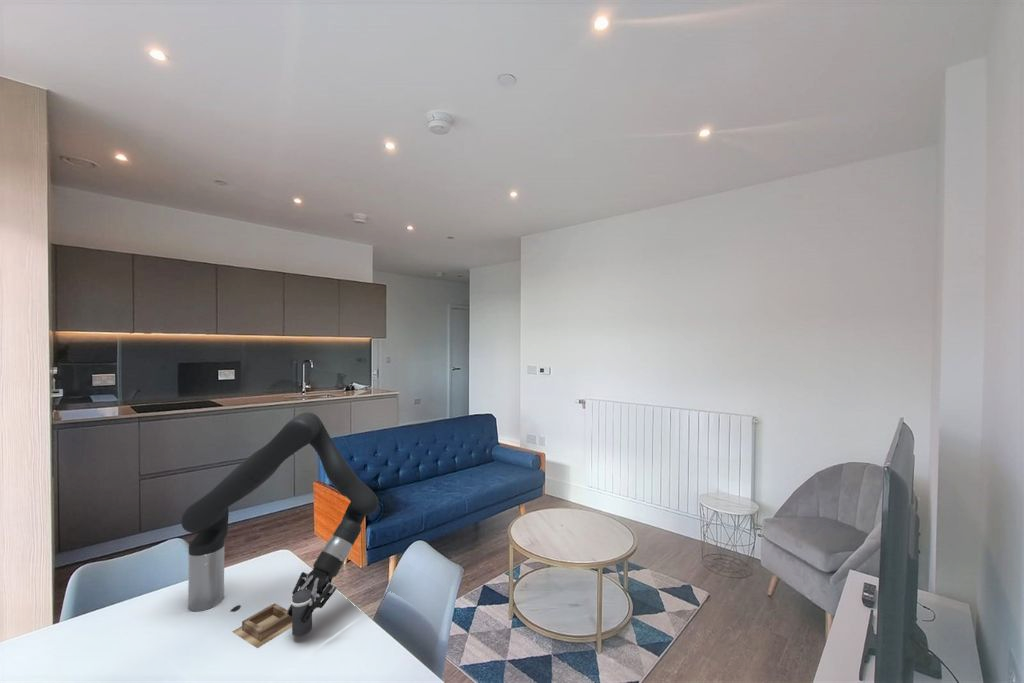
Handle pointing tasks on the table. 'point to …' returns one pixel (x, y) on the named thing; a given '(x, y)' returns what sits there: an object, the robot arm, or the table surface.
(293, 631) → the dark grey banded cylinder
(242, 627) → the tiered wooden square base
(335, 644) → the table surface
